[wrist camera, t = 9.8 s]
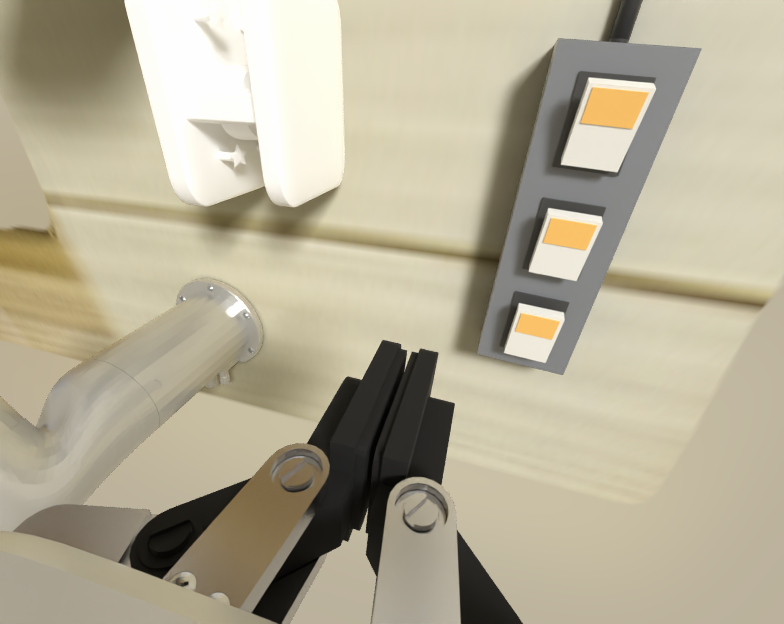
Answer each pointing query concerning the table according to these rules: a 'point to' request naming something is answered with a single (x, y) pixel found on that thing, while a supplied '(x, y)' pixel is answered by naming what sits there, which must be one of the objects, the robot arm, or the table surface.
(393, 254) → the table surface
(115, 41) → the table surface
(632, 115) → the near rocker
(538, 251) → the middle rocker
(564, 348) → the power strip
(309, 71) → the cable organizer
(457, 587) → the robot arm
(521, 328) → the plate
